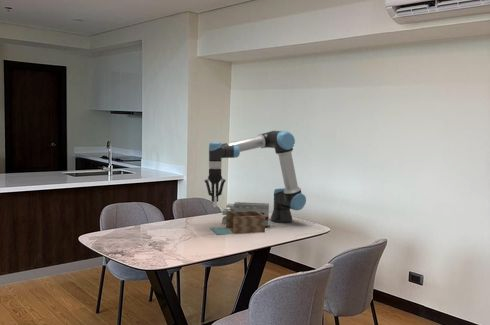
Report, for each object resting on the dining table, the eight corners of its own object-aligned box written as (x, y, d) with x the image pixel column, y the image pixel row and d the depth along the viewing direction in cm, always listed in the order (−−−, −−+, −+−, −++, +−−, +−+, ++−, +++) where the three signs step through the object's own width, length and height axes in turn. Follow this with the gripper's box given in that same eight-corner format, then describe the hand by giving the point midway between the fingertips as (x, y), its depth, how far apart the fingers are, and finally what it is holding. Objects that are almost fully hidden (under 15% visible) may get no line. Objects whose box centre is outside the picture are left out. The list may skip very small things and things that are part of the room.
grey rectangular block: (223, 223, 299) (223, 201, 298) (268, 225, 296) (268, 203, 295) (221, 226, 291) (222, 203, 290) (267, 228, 288) (268, 205, 287)
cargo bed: (255, 228, 286) (255, 210, 286) (264, 234, 271) (265, 215, 270) (225, 230, 280) (226, 212, 279) (233, 236, 265) (234, 217, 264)
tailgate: (225, 227, 280) (210, 227, 276) (233, 233, 265) (217, 233, 261) (225, 229, 280) (210, 229, 276) (233, 235, 265) (217, 235, 261)
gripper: (223, 167, 271) (223, 205, 273) (203, 167, 267) (202, 206, 269) (227, 168, 264) (227, 207, 266) (206, 169, 260) (205, 208, 262)
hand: (214, 206), depth 268 cm, fingers closed
